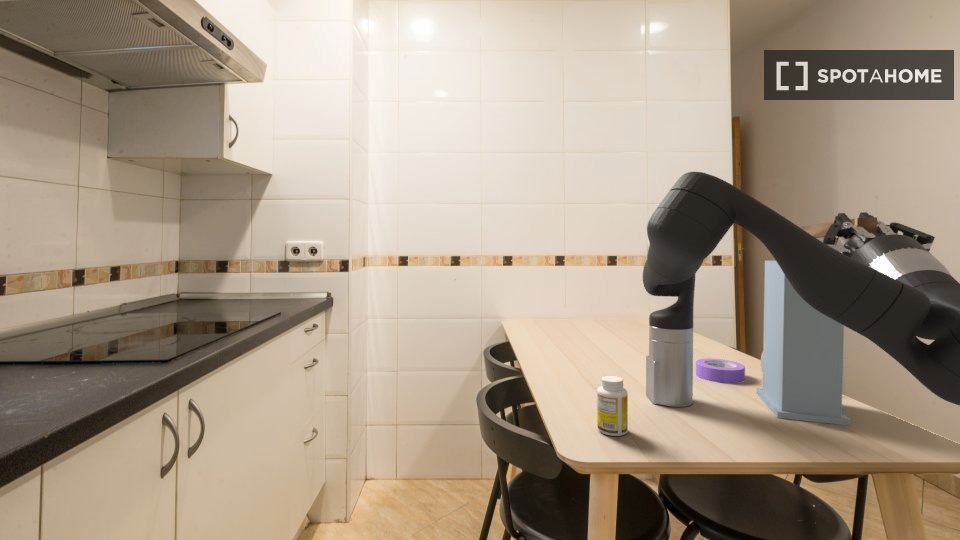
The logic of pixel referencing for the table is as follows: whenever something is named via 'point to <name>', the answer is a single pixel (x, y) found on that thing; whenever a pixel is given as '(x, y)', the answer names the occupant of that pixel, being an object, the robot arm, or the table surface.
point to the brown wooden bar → (822, 229)
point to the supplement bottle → (612, 406)
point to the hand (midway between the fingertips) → (850, 218)
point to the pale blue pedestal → (800, 355)
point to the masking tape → (720, 370)
